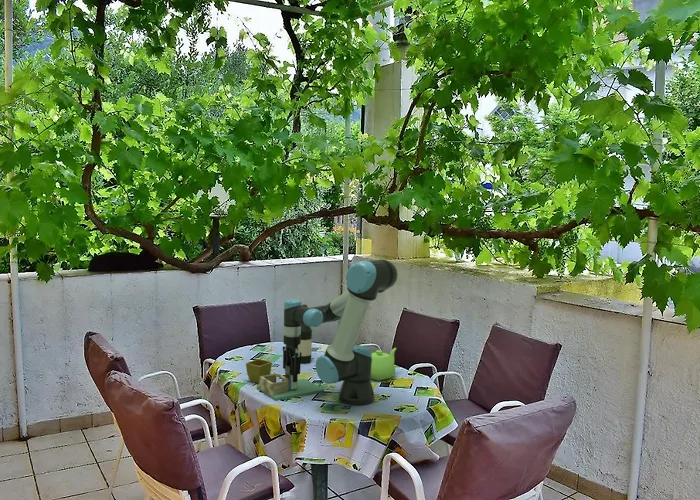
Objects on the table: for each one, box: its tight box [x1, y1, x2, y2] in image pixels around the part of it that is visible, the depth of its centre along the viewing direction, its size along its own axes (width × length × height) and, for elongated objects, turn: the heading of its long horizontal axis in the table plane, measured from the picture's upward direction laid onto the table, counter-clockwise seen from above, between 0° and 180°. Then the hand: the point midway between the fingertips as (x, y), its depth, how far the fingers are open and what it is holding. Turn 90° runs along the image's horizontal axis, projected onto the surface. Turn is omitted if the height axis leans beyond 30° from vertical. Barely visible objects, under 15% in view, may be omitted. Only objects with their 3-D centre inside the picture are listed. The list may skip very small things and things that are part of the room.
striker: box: [281, 364, 299, 390], centre depth 260 cm, size 5×5×10 cm
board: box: [256, 378, 325, 402], centre depth 262 cm, size 18×24×1 cm
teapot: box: [371, 347, 397, 381], centre depth 285 cm, size 22×15×13 cm
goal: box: [258, 371, 288, 395], centre depth 258 cm, size 12×8×6 cm, turn 34°
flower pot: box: [245, 358, 273, 384], centre depth 273 cm, size 9×9×9 cm
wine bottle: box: [298, 304, 313, 365], centre depth 306 cm, size 8×8×30 cm
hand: (291, 387), depth 261 cm, fingers closed on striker, 4 cm apart
